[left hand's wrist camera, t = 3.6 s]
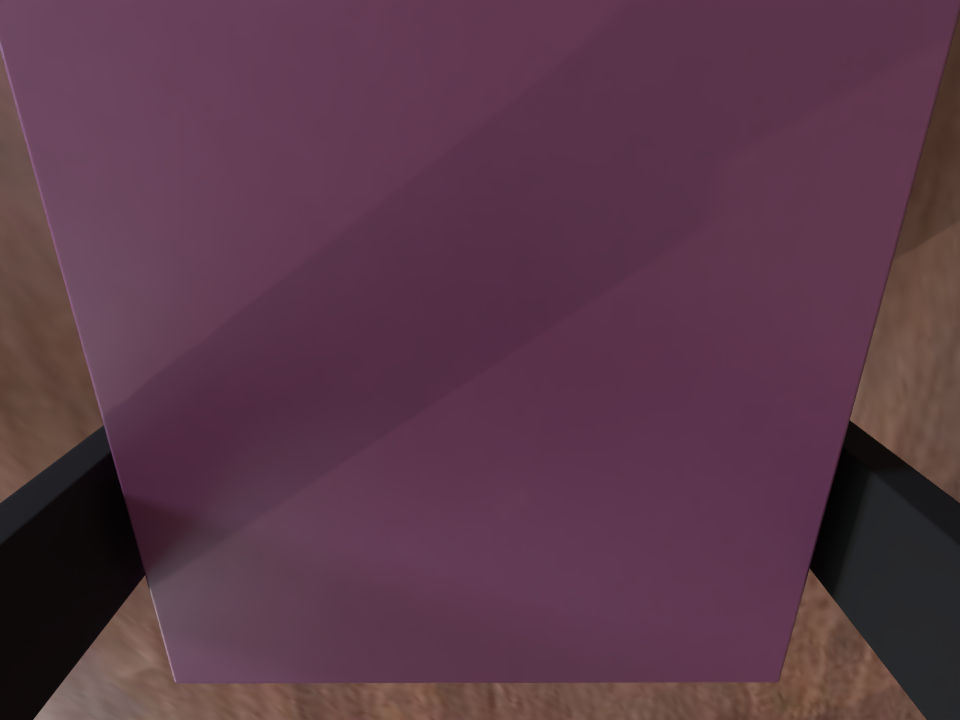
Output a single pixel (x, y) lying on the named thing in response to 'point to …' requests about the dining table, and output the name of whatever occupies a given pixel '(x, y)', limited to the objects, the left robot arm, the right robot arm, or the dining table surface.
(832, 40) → the cabinet
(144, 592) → the dining table surface
